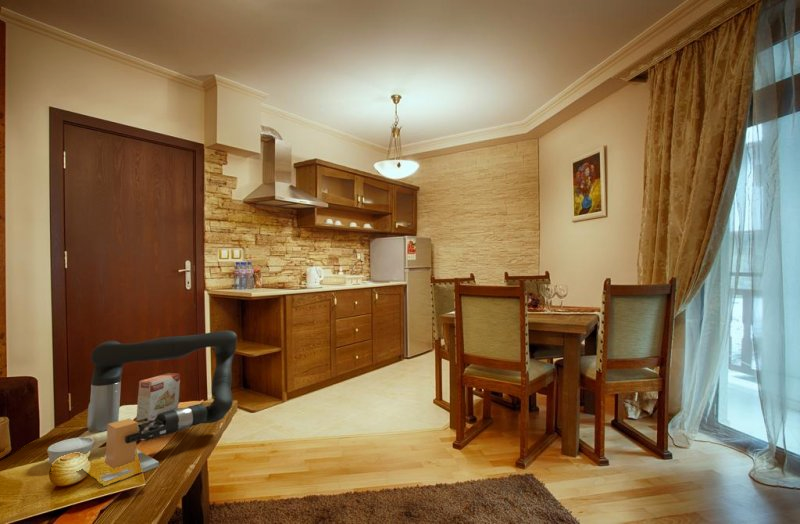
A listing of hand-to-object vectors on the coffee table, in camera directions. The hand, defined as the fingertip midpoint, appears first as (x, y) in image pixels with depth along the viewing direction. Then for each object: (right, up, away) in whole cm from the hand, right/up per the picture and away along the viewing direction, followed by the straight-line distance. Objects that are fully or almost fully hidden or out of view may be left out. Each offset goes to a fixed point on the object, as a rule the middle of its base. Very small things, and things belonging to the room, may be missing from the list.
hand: (119, 436), depth 115 cm
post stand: (0, -10, 0) cm, 10 cm away
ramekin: (-19, -10, +4) cm, 21 cm away
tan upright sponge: (0, -8, 0) cm, 8 cm away
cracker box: (-6, -11, +27) cm, 30 cm away
